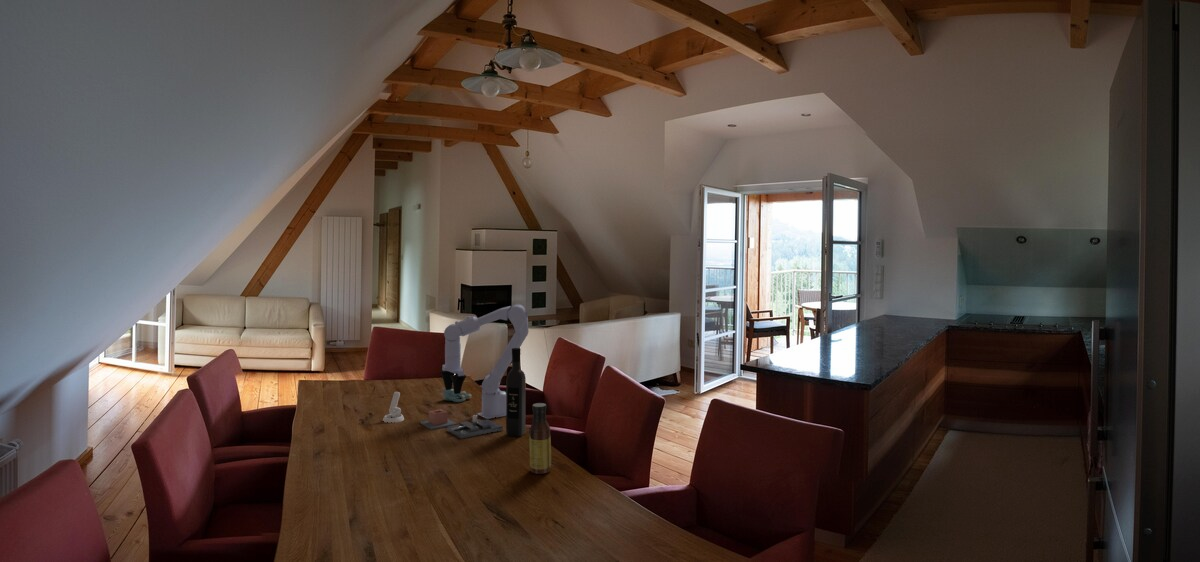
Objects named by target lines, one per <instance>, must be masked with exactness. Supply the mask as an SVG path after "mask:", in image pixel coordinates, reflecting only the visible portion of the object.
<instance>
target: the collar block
mask: <svg viewBox="0 0 1200 562" xmlns="http://www.w3.org/2000/svg"><path fill="white" fill-rule="evenodd" d="M448 415H449V414H448V411H446V410H444V409H442V408H440V409H434V410H429V411H428V420H429V422H430V423H431V424H433V425H439V424H445V423H448V419H449V417H448Z"/></svg>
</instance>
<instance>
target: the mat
mask: <svg viewBox="0 0 1200 562" xmlns="http://www.w3.org/2000/svg"><path fill="white" fill-rule="evenodd" d="M419 424H421V425H422V426H424V427H425V428H427V429H428V430H430V431H432V430H438V429H443V428H447V427H448V426H454V425H458V423H457V422H456V421H453V420H451V419H450V418H448V423H445V424H439V425H433V424H431V423H430V422H429V419H428V420H422V421H421V420H420V421H419Z"/></svg>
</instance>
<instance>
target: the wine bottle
mask: <svg viewBox="0 0 1200 562" xmlns="http://www.w3.org/2000/svg"><path fill="white" fill-rule="evenodd" d="M505 381H506V382H505V383H506V386H505V387H506V389H505V393H506V416H505V418H506V420H505V423H506V424H505V433H506V434H505V435H506V436H507V437H517V436H518V437H519V436H520V437H522V436H523V435H524V434H525V433H526V383H527V382H526V374H525V372H524V371H523V370H522V369H521V347H520V348H512V361H511V369H510V370H509V372H508V373H507V375H506V380H505ZM518 437H517V438H518ZM520 437H519V438H520Z"/></svg>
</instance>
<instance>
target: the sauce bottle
mask: <svg viewBox="0 0 1200 562" xmlns="http://www.w3.org/2000/svg"><path fill="white" fill-rule="evenodd" d="M531 410H532V422H531V425H530V428H529V431H528V448H529V453H528V454H529V470H530V472H531V473H532V474H536V475H543V474H548V473H549V472H551V469H552V467H551V466H552V442H551V437H552V436H551V426H550V424H549V422H548V421H547V415H546V414H547V413H546V411H547V404H546V403H544V402H543V403H542V402H537V403H533V404H532V409H531Z"/></svg>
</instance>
